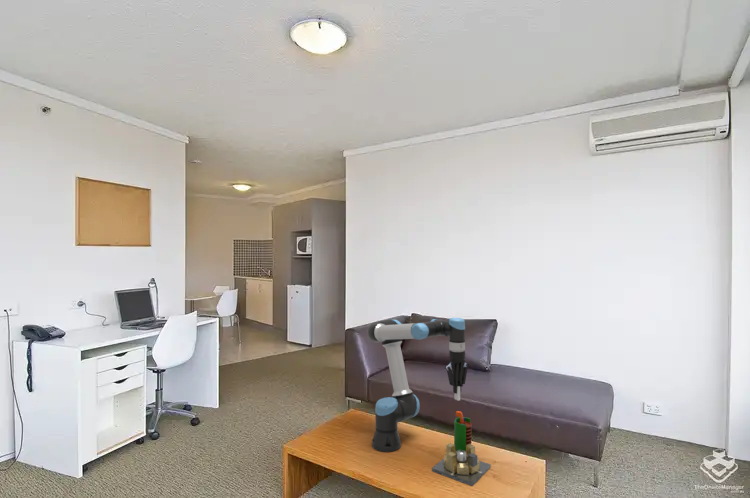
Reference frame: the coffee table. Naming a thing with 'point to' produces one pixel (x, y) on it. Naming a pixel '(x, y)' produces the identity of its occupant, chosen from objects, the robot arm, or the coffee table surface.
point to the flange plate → (466, 479)
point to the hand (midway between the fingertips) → (457, 399)
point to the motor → (462, 432)
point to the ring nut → (461, 468)
